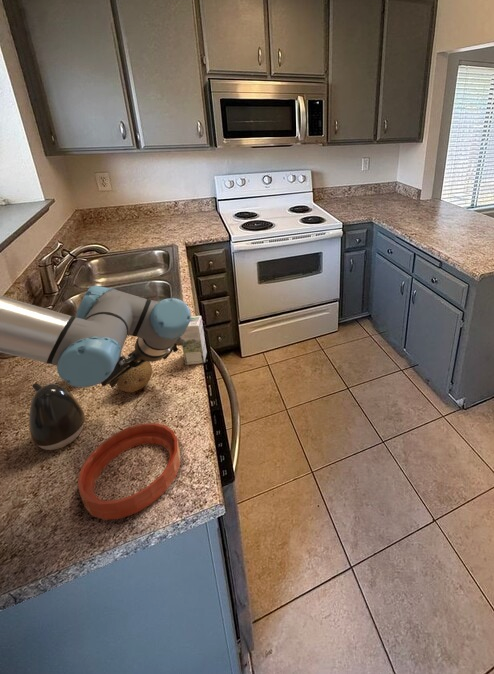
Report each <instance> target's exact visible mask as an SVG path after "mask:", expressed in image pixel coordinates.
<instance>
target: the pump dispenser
mask: <svg viewBox="0 0 494 674" xmlns="http://www.w3.org/2000/svg"><path fill="white" fill-rule="evenodd" d="M31 387H32V388H33V390H34V391H35V394H34V395H33V397H32V399H31V402H30V407H29V415H28V420H29V422H28V423H29V425H28V427H29V434H30V438H31V442H32V443H33V444H34V445H36V446H37V447H39V448H41V449H43V450H46V451H54V450H55V451H56V450H58V449H62V448H64V447H66V446H68V445H70V444H71V443H72V442H74V441H75V440H76V439H77V438H78V437H79V436H80V434H81V433H82V431H83V428H84V425H85V420H86V414H85V411H84V410H83V408H82V405H81V404H80V403H79V401H78V400H77V398H76V397H75V396H74V395H73V394H72V392H71V391H69V390H68V389H67V388H65V387H64V386H62V385H60V384H57V383H49V384H45V385H43V386H42V385H40V384H39V383H38V382H34V383H33V384H32V385H31Z"/></svg>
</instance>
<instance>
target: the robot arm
mask: <svg viewBox="0 0 494 674" xmlns="http://www.w3.org/2000/svg"><path fill="white" fill-rule="evenodd" d="M191 317H192V314H191V309H190V307H189V306H188V305H187V303H185V301H183V300H181V299H180V298H176V297H169V298H164V299H162V300H160V301H156V300H152V299H147V298H144V297H141V296H138V295H135V294H131V293H127V292H125V291H122V290H117V289H116V288H113V287H112V288H110V287H105V286H101V285H92V286H90V287H89V288H88V289H87V291H86V292H85V294H84V296H83V298H82V300H81V302H80V304H79V306H78V308H77V310H76V313H75V316H73V315H69V314H66V313H62V312H60V311H59V312H58V311H56V310H52V309H48V308H46V307H41V306H38V305H35V304H31V303H28V302H25V301H21V300H17V299H14V298H10V297H7V296H4V295H0V354H1V353H2V354H6V355H10V356H14V357H19V358H23V359H28V360H32V361H36V362H41V363H43V364H44V363H45V364H48V365H53V366H56V367H57V368H56V370H57V375H58V377H59V378H60V379H61V380H62V381H64V382H66V383H67V385H70V386H71V387H76V388H89V387H93V386H97V385H99V384H101V386H102V387H105V386H107V385H109V386H110V388H112V389H113V388H115V387H116V386H117V384H116V383H117V382H118V380H119V379H118V378H119V377H120V376H122V375H123V374H125V373H126V372H128V371H129V370H130V369H132V368H133V367H138V366H140V365H141V364H142V363H144V362H146V361H148V362H150V363H152V362H154V363H155V362H158V361H161V360H164V361H165V360H166V359H168V358H169V356H170V355H171V354H172V352H173V353H176V352H178V351H179V348H178V347H177V346H179V347H180V346H182V345H183V344H184V343H183V341H182V339H181V336H182V335H183V334H184V332H185V330H186V328H187V326H188V325H189V323H190V320H191ZM128 336H131V337H134V338H137V339H136V340H135V343H134V350H133V351H132V352H130V353H129V354H128V355H127V357H126V356H124V355H122V351H123V348H124V346H125V343H126V340H127V338H128ZM138 361H140V362H138Z"/></svg>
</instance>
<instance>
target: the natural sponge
mask: <svg viewBox="0 0 494 674" xmlns="http://www.w3.org/2000/svg"><path fill="white" fill-rule="evenodd" d="M138 362H140V361H138ZM152 375H153V366H152V364H151V362H148V361H146V362H144V363H142V364H141V365H140V366H138V367H133V368H132V369H130V370H129V371H128V372H126V373H125V374H123V375H122V376H120V377H119V378H118V379H119V380H118V382H117V383H116V386H117V388H118V389H119V390H120V391H122V392H124V393H125V392H126V393H134V392H136V391H139V390H141V389H144V388H145V387H146V385H147V384H148V383H149V381H150V379H151V377H152Z"/></svg>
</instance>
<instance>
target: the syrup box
mask: <svg viewBox="0 0 494 674" xmlns="http://www.w3.org/2000/svg"><path fill="white" fill-rule="evenodd" d="M181 339H182V341H183V343H184V344H183V345H181V349H182V353H183V358H184V364H185V366H189V365H199V364H205V363H206V358H207V355H208V351H207V345H206V339H205V332H204V325H203V318H202V315H194V316H193V315H191V320H190V323H189V325H188V326H187V328H186V330H185V332H184V334H183V335H182V336H181Z"/></svg>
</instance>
